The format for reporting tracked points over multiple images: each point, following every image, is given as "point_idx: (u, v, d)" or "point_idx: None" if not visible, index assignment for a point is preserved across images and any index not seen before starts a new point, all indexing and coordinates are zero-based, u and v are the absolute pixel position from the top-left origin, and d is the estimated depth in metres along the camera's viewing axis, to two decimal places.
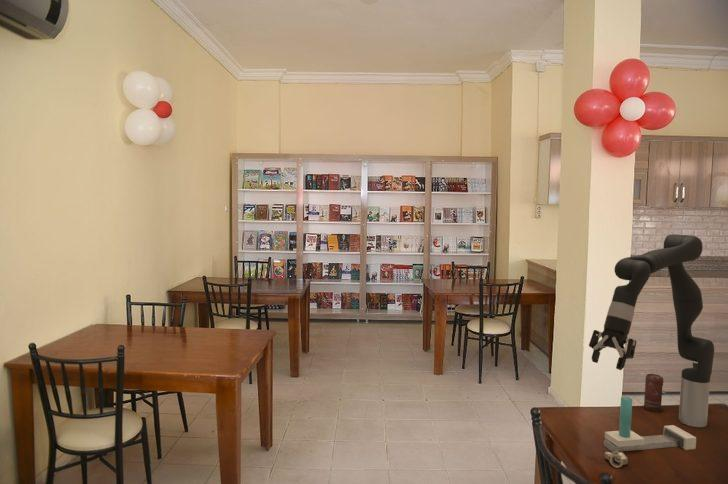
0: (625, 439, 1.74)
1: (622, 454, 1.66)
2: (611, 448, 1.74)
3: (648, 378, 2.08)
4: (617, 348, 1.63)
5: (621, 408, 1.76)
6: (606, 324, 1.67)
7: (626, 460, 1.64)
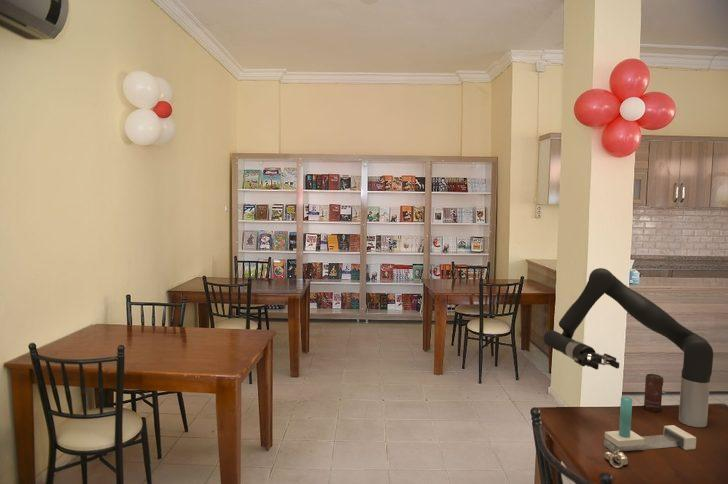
0: (625, 439, 1.74)
1: (622, 454, 1.66)
2: (611, 448, 1.74)
3: (648, 378, 2.08)
4: None
5: (621, 408, 1.76)
6: None
7: (626, 460, 1.64)
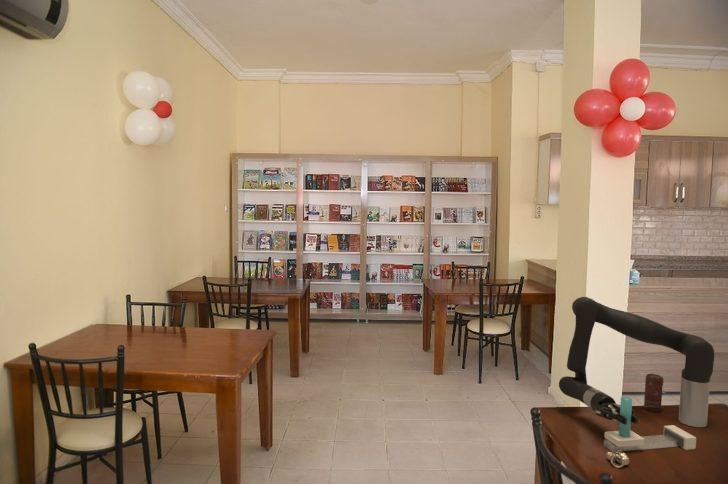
0: (625, 439, 1.74)
1: (624, 454, 1.66)
2: (611, 448, 1.74)
3: (648, 378, 2.08)
4: None
5: (621, 408, 1.76)
6: None
7: (627, 460, 1.64)
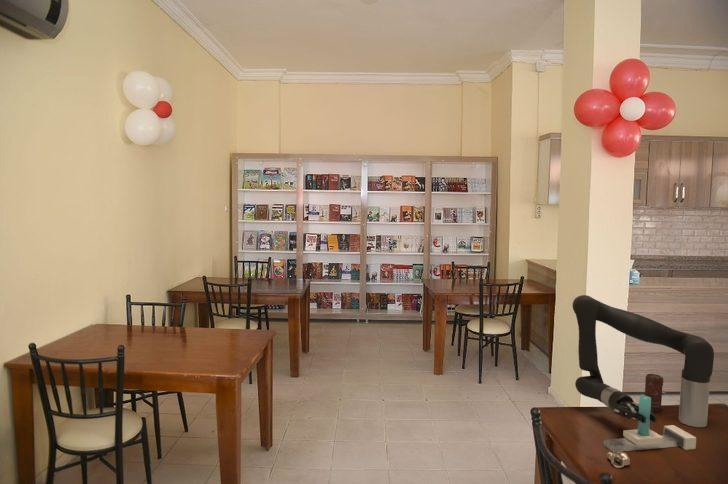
0: (644, 437, 1.75)
1: (625, 455, 1.66)
2: (611, 448, 1.74)
3: (648, 378, 2.08)
4: None
5: (640, 407, 1.77)
6: None
7: (628, 461, 1.64)
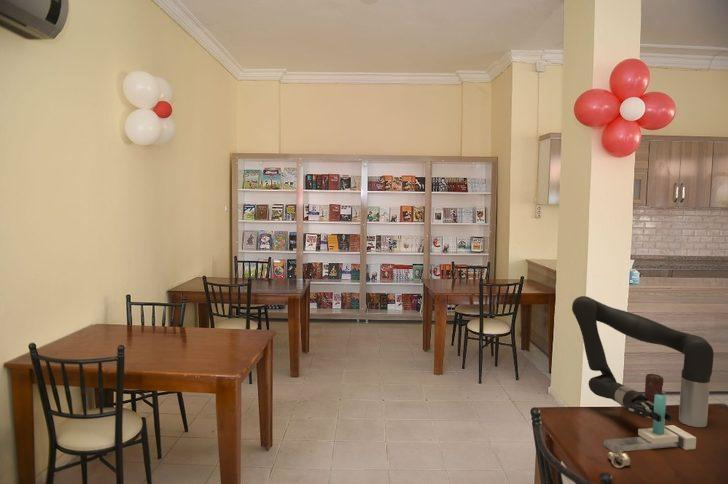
0: (659, 436, 1.76)
1: (625, 455, 1.66)
2: (611, 448, 1.74)
3: (648, 378, 2.08)
4: None
5: (655, 406, 1.78)
6: None
7: (628, 461, 1.64)
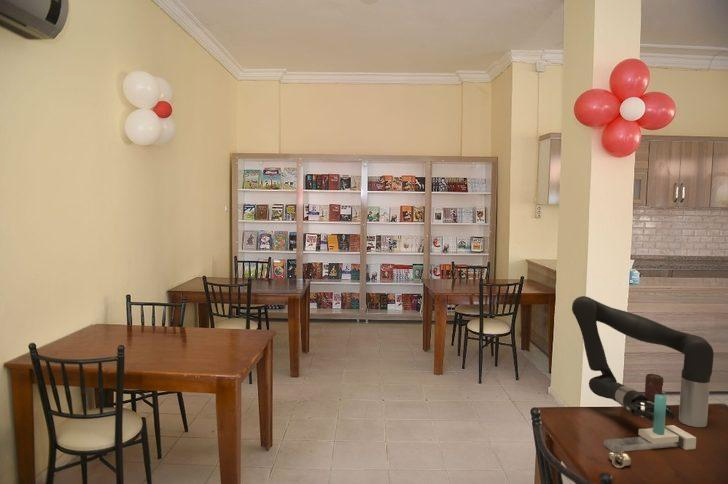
0: (660, 436, 1.76)
1: (626, 455, 1.66)
2: (611, 448, 1.74)
3: (648, 378, 2.08)
4: None
5: (655, 406, 1.78)
6: None
7: (629, 461, 1.63)
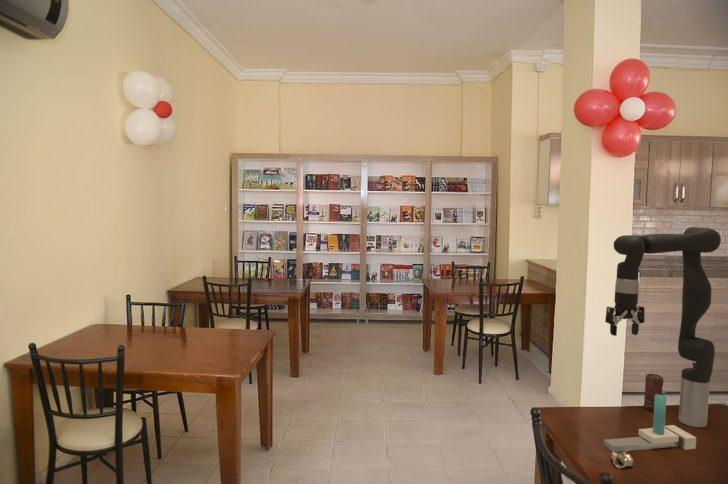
0: (660, 436, 1.76)
1: (628, 456, 1.65)
2: (611, 448, 1.74)
3: (648, 378, 2.08)
4: None
5: (655, 406, 1.78)
6: None
7: (630, 462, 1.63)
